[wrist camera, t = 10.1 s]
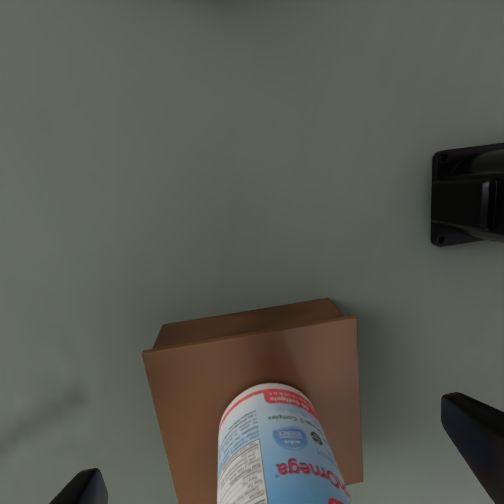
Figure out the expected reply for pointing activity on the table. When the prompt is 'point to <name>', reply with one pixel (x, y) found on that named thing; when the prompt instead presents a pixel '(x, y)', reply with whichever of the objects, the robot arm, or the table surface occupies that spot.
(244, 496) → the pill bottle
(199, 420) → the walnut platform
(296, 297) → the table surface
